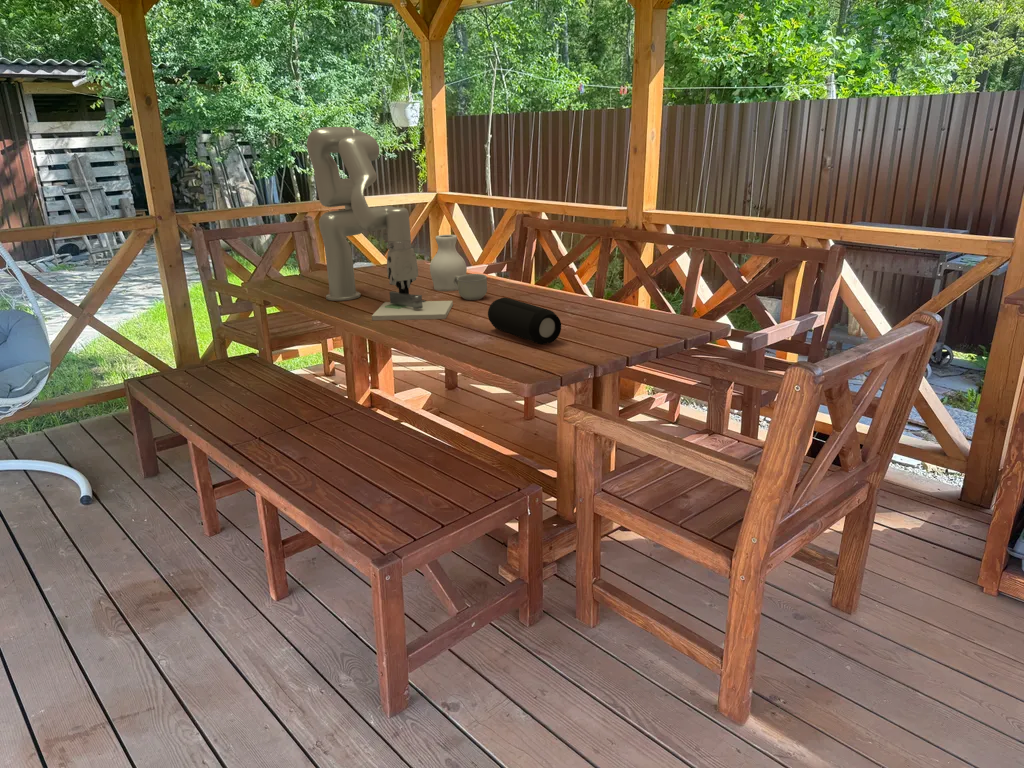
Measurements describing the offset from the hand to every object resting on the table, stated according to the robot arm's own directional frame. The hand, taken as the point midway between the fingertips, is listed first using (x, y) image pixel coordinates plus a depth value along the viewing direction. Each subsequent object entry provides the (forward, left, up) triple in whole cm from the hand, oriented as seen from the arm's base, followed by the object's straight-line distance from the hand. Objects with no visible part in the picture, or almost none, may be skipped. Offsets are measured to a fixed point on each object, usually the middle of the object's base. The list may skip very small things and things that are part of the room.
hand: (404, 299), depth 249 cm
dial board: (+5, +4, -3) cm, 7 cm away
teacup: (-16, +21, -4) cm, 27 cm away
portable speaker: (+38, +42, -4) cm, 57 cm away
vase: (-35, +11, -4) cm, 37 cm away
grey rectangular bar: (+5, +1, -1) cm, 5 cm away
